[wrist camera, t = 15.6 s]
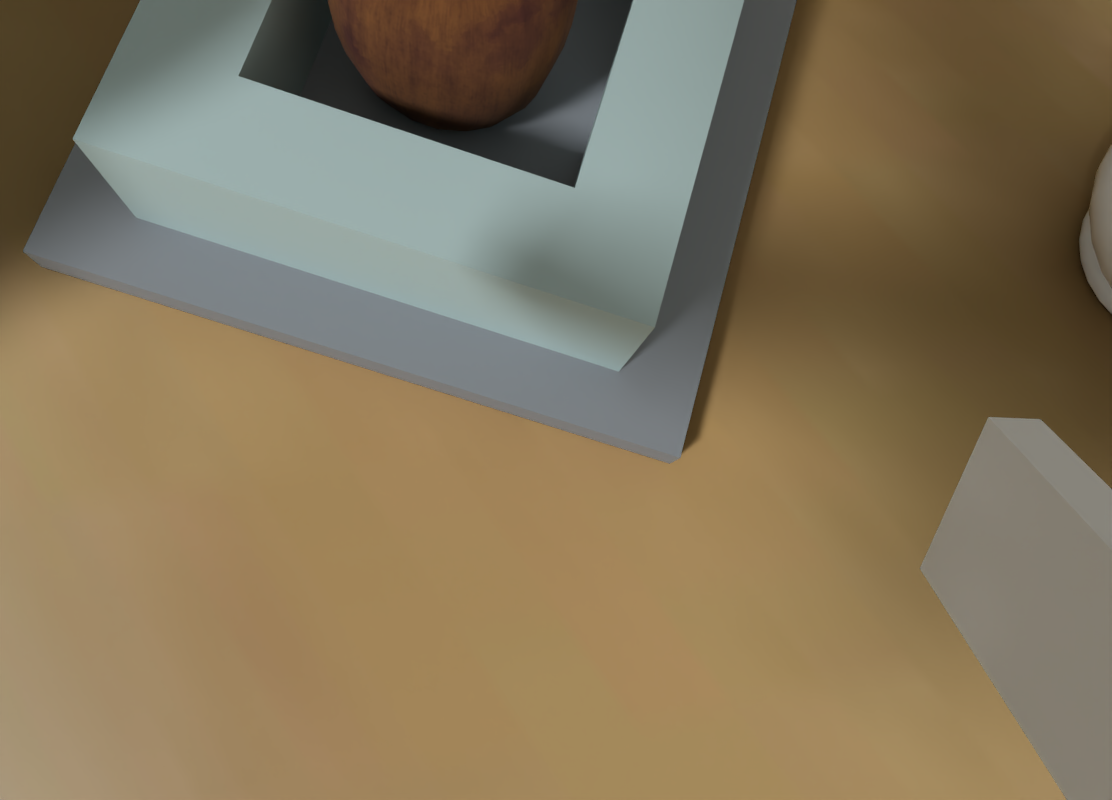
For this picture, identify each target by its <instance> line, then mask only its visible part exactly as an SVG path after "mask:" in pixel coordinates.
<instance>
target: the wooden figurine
mask: <svg viewBox="0 0 1112 800" xmlns="http://www.w3.org/2000/svg"><path fill="white" fill-rule="evenodd" d="M577 2H578V0H328V5H329V8H330V12H331V16H332V20H333V23H334V27H335V30H336V33H337V35H338V37H339V39H340V41H341V44H342V46H343V48H344V50H345V52H346V54H347V56H348V57H349V59H350V60H351V61H352V63H353V64H354V66H355V67H356V68H357V70H358V71H359V73H360V74H361V75H362V77H363V78H364V80H365V81H366V82H367V84H368V85H369V86H370V88H371V89H372V90H373V91H374V93H375V94H376V95H377V96H378V97H379V98H380V99H382V100H383V101H384V102H385V103H387V104H388V105H390V106H391V107H393V108H394V109H396V110H397V111H399V112H400V113H402V114H403V115H405V116H406V117H408V118H409V119H411V120H413V121H416V122H419V123H422V124H424V125H427V126H430V127H432V128H435V129H442V130H454V131H470V130H476V129H483V128H489V127H492V126H494V125H496V124H497V123H499V122H501V121H503V120H505V119H506V118H508V117H510V116H512V115H513V114H515V113H517V112H519V111H521V110H522V109H524V108H526V106H527V105H528V104H529V103H530V102H531V101H532V100H533V99H534V98H535V96H536V95H537V93H538V92H539V90H540V88H541V87H542V85H543V83H544V82H545V80H546V78H547V76H548V75H549V73H550V71H551V70H552V68H553V66H554V64H555V63H556V61H557V59H558V57H559V55H560V53H561V51H562V50H563V48H564V46H565V43H566V40H567V37H568V34H569V31H570V29H571V26H572V22H573V18H574V14H575V10H576V6H577Z"/></svg>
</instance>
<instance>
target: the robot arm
mask: <svg viewBox="0 0 1112 800" xmlns="http://www.w3.org/2000/svg"><path fill="white" fill-rule="evenodd" d="M920 570H921V571H922V573H923V574H924V576H925V578H926V579H927V581H928V582H929V584H930V585H931V587H932V589H933V590H934V592H935V593H936V595H937V596H938V598H939V600H940V601H941V603H942V604H943V606H944V607H945V609H946V611H947V612H948V614H949V615H950V617H951V618H952V620H953V622H954V623H955V625H956V626H957V628H958V629H959V631H960V633H961V634H962V636H963V637H964V639H965V640H966V642H967V644H968V645H969V647H970V648H971V650H972V651H973V653H974V655H975V656H976V658H977V659H978V661H979V662H980V664H981V666H982V667H983V669H984V670H985V672H986V673H987V675H988V677H989V678H990V680H991V681H992V683H993V684H994V686H995V688H996V689H997V691H998V692H999V694H1000V695H1001V697H1002V699H1003V700H1004V702H1005V703H1006V705H1007V706H1008V708H1009V710H1010V711H1011V713H1012V714H1013V716H1014V717H1015V719H1016V721H1017V722H1018V724H1019V725H1020V727H1021V728H1022V730H1023V732H1024V733H1025V735H1026V736H1027V738H1028V739H1029V741H1030V743H1031V744H1032V746H1033V747H1034V749H1035V750H1036V752H1037V754H1038V755H1039V757H1040V758H1041V760H1042V761H1043V763H1044V765H1045V766H1046V768H1047V769H1048V771H1049V772H1050V774H1051V776H1052V777H1053V779H1054V780H1055V782H1056V783H1057V785H1058V787H1059V788H1060V790H1061V791H1062V793H1063V794H1064V796H1065V798H1066V799H1067V800H1112V489H1111V488H1110V487H1109V486H1108V485H1107V484H1106V483H1105V482H1104V481H1103V480H1102V479H1101V478H1100V477H1099V476H1098V475H1097V474H1096V473H1095V472H1094V471H1093V470H1092V469H1091V468H1090V467H1089V466H1088V465H1087V464H1086V463H1085V462H1084V461H1083V460H1082V459H1081V458H1080V457H1079V456H1078V455H1076V454H1075V453H1074V452H1073V451H1072V450H1071V449H1070V448H1069V447H1068V446H1067V445H1066V444H1065V443H1064V442H1063V441H1062V440H1061V439H1060V438H1059V437H1058V436H1057V435H1056V434H1055V433H1054V432H1053V431H1052V430H1051V429H1050V428H1049V427H1048V426H1047V425H1046V424H1045V423H1044V422H1043V421H1042V420H1041V419H1024V418H1000V417H988V419H987V421H986V423H985V425H984V428H983V430H982V432H981V434H980V437H979V439H978V441H977V443H976V445H975V448H974V450H973V452H972V454H971V456H970V459H969V461H968V463H967V465H966V467H965V470H964V472H963V474H962V476H961V479H960V481H959V483H958V485H957V487H956V490H955V492H954V494H953V496H952V498H951V501H950V503H949V505H948V507H947V509H946V512H945V514H944V516H943V518H942V521H941V523H940V525H939V527H938V529H937V532H936V534H935V536H934V538H933V540H932V543H931V545H930V547H929V549H928V551H927V554H926V556H925V558H924V560H923V563H922V565H921V567H920Z"/></svg>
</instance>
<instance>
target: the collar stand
mask: <svg viewBox="0 0 1112 800" xmlns="http://www.w3.org/2000/svg"><path fill="white" fill-rule="evenodd" d="M796 1H797V0H578V2H577V6H576V10H575V14H574V18H573V22H572V26H571V29H570V31H569V34H568V37H567V40H566V43H565V46H564V48H563V50H562V51H561V53H560V55H559V57H558V59H557V61H556V63H555V64H554V66H553V68H552V70H551V71H550V73H549V75H548V76H547V78H546V80H545V82H544V83H543V85H542V87H541V88H540V90H539V92H538V93H537V95H536V96H535V98H534V99H533V100H532V101H531V102H530V103H529V104H528V105H527V106H526V108H524V109H522V110H521V111H519V112H517V113H515V114H513V115H512V116H510V117H508V118H506V119H505V120H503V121H501V122H499V123H497V124H496V125H494V126H492V127H489V128H483V129H476V130H470V131H454V130H442V129H435V128H432V127H430V126H427V125H424V124H422V123H419V122H416V121H413V120H411V119H409V118H408V117H406V116H405V115H403V114H402V113H400V112H399V111H397V110H396V109H394V108H393V107H391V106H390V105H388V104H387V103H385V102H384V101H383V100H382V99H380V98H379V97H378V96H377V95H376V94H375V93H374V91H373V90H372V89H371V88H370V86H369V85H368V84H367V82H366V81H365V80H364V78H363V77H362V75H361V74H360V73H359V71H358V70H357V68H356V67H355V66H354V64H353V63H352V61H351V60H350V59H349V57H348V56H347V54H346V52H345V50H344V48H343V46H342V44H341V41H340V39H339V37H338V35H337V33H336V30H335V27H334V23H333V20H332V16H331V12H330V8H329V5H328V0H140V2H139V4H138V6H137V8H136V10H135V12H134V14H133V16H132V18H131V20H130V22H129V24H128V26H127V28H126V30H125V32H124V35H123V37H122V39H121V41H120V43H119V45H118V47H117V49H116V51H115V53H114V55H113V57H112V59H111V61H110V63H109V65H108V67H107V69H106V71H105V73H104V75H103V77H102V80H101V82H100V84H99V86H98V88H97V90H96V92H95V94H94V96H93V98H92V100H91V102H90V104H89V106H88V108H87V110H86V112H85V114H84V116H83V118H82V120H81V122H80V125H79V127H78V129H77V131H76V133H75V135H74V137H73V140H74V141H75V145H74V147H73V149H72V151H71V153H70V155H69V157H68V159H67V161H66V163H65V165H64V167H63V169H62V172H61V174H60V176H59V178H58V180H57V182H56V184H55V186H54V188H53V190H52V192H51V194H50V196H49V198H48V200H47V202H46V204H45V206H44V208H43V211H42V213H41V215H40V217H39V219H38V221H37V223H36V225H35V227H34V229H33V231H32V233H31V235H30V237H29V239H28V241H27V243H26V245H25V247H24V250H23V252H24V253H25V254H26V255H28V256H29V257H30V258H31V259H33V260H34V261H35V262H36V263H38V264H39V265H40V266H41V267H44V268H47V269H50V270H53V271H57V272H60V273H63V274H66V275H69V276H73V277H76V278H79V279H82V280H85V281H89V282H92V283H95V284H98V285H101V286H104V287H108V288H111V289H114V290H117V291H120V292H124V293H127V294H130V295H133V296H136V297H140V298H143V299H146V300H149V301H152V302H156V303H159V304H162V305H165V306H168V307H172V308H175V309H178V310H181V311H184V312H187V313H191V314H194V315H197V316H200V317H203V318H207V319H210V320H213V321H216V322H219V323H223V324H226V325H229V326H232V327H235V328H239V329H242V330H245V331H248V332H251V333H255V334H258V335H261V336H264V337H267V338H270V339H274V340H277V341H280V342H283V343H286V344H290V345H293V346H296V347H299V348H302V349H306V350H309V351H312V352H315V353H318V354H322V355H325V356H328V357H331V358H334V359H338V360H341V361H344V362H347V363H350V364H353V365H357V366H360V367H363V368H366V369H369V370H373V371H376V372H379V373H382V374H385V375H389V376H392V377H395V378H398V379H401V380H405V381H408V382H411V383H414V384H417V385H421V386H424V387H427V388H430V389H433V390H436V391H440V392H443V393H446V394H449V395H452V396H456V397H459V398H462V399H465V400H468V401H472V402H475V403H478V404H481V405H484V406H488V407H491V408H494V409H497V410H500V411H504V412H507V413H510V414H513V415H516V416H519V417H523V418H526V419H529V420H532V421H535V422H539V423H542V424H545V425H548V426H551V427H555V428H558V429H561V430H564V431H567V432H571V433H574V434H577V435H580V436H583V437H587V438H590V439H593V440H596V441H599V442H602V443H606V444H609V445H612V446H615V447H618V448H622V449H625V450H628V451H631V452H634V453H638V454H641V455H644V456H647V457H650V458H654V459H657V460H660V461H663V462H666V463H672V462H674V461H675V460H677V459H679V458H680V457H681V453H682V449H683V445H684V441H685V437H686V433H687V429H688V425H689V421H690V417H691V413H692V409H693V405H694V402H695V398H696V394H697V390H698V386H699V382H700V378H701V374H702V370H703V366H704V362H705V358H706V354H707V350H708V347H709V343H710V339H711V335H712V331H713V327H714V323H715V319H716V315H717V311H718V307H719V303H720V299H721V295H722V291H723V288H724V284H725V280H726V276H727V272H728V268H729V264H730V260H731V256H732V252H733V248H734V244H735V240H736V236H737V232H738V229H739V225H740V221H741V217H742V213H743V209H744V205H745V201H746V197H747V193H748V189H749V185H750V181H751V177H752V174H753V170H754V166H755V162H756V158H757V154H758V150H759V146H760V142H761V138H762V134H763V130H764V126H765V122H766V118H767V115H768V111H769V107H770V103H771V99H772V95H773V91H774V87H775V83H776V79H777V75H778V71H779V67H780V63H781V60H782V56H783V52H784V48H785V44H786V40H787V36H788V32H789V28H790V24H791V20H792V16H793V12H794V8H795V4H796Z"/></svg>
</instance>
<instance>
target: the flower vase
mask: <svg viewBox="0 0 1112 800" xmlns="http://www.w3.org/2000/svg"><path fill="white" fill-rule="evenodd" d="M1079 247H1080V259H1081V263H1082V266H1083V269H1084V272H1085V275H1086V278H1087V281H1088V283H1089V285H1090V286H1091V288H1092V290H1093V291H1094V293H1095V295H1096V296H1097V298H1098V300H1099V301H1100V302H1101V303H1102V304H1103V305H1104V306H1105V307H1106V308H1107V310H1108V311H1109V312H1110V313H1111V314H1112V143H1111V145H1110V147H1109V149H1108V151H1107V153H1106V155H1105V156H1104V158H1103V160H1102V162H1101V164H1100V166H1099V168H1098V170H1097V172H1096V176H1095V180H1094V185H1093V191H1092V196H1091V201H1090V206H1089V210H1088V212H1087V214H1086V216H1085V217H1084V219H1083V222H1082V227H1081V232H1080V237H1079Z"/></svg>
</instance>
